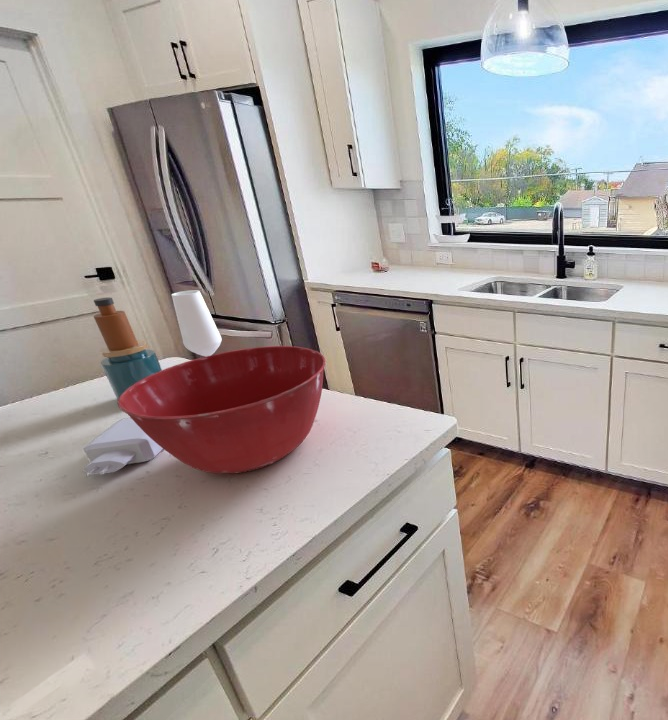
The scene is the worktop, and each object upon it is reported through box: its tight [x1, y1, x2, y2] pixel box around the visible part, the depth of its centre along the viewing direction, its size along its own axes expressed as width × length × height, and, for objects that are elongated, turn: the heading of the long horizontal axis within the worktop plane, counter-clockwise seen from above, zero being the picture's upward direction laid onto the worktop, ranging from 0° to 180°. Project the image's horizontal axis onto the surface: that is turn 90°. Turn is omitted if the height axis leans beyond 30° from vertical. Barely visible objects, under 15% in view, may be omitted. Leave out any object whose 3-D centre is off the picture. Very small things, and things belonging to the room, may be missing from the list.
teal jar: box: [99, 340, 163, 401], centre depth 94 cm, size 9×9×12 cm
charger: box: [82, 417, 164, 477], centre depth 73 cm, size 5×9×15 cm
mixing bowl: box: [117, 345, 326, 474], centre depth 73 cm, size 28×28×16 cm
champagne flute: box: [171, 289, 222, 357], centre depth 93 cm, size 7×7×24 cm
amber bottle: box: [93, 296, 138, 351], centre depth 89 cm, size 5×5×11 cm
